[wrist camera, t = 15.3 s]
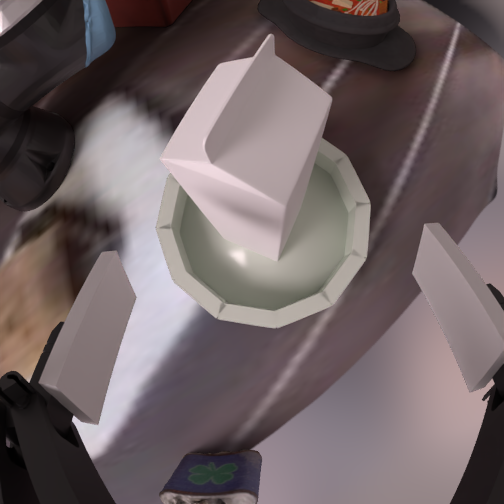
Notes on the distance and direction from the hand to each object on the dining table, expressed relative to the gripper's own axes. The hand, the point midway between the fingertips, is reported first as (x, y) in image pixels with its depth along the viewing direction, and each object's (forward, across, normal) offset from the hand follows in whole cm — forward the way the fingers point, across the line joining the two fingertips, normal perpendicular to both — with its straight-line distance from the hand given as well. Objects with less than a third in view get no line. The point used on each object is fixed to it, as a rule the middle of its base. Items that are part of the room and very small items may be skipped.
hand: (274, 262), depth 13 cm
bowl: (+18, 0, -9) cm, 20 cm away
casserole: (+39, +14, +12) cm, 43 cm away
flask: (0, -7, -28) cm, 29 cm away
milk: (+17, 0, -9) cm, 19 cm away
